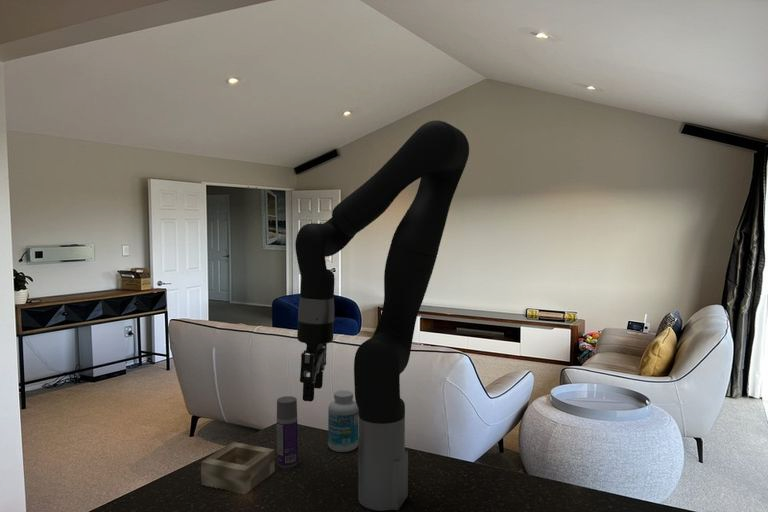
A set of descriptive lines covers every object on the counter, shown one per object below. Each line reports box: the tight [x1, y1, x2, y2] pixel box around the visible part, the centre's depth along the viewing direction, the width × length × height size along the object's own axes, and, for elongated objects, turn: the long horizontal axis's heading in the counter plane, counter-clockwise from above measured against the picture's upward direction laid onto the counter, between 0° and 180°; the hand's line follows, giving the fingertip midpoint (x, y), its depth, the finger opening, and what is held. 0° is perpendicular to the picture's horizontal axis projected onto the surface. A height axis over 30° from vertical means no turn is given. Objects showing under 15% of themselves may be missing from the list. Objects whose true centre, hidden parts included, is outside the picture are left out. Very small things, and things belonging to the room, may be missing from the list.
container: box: [276, 395, 299, 469], centre depth 125 cm, size 5×5×15 cm
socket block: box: [200, 441, 276, 495], centre depth 118 cm, size 11×11×5 cm
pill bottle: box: [327, 390, 359, 453], centre depth 134 cm, size 8×7×14 cm
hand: (312, 394), depth 116 cm, fingers open, 8 cm apart
